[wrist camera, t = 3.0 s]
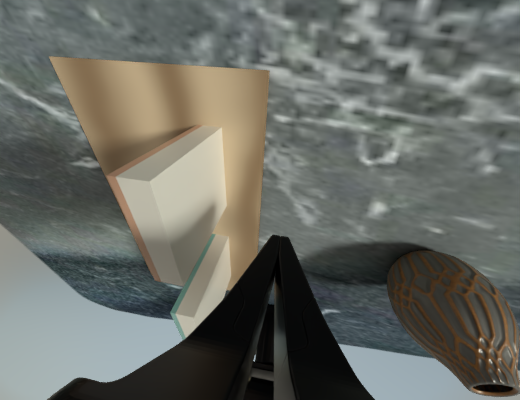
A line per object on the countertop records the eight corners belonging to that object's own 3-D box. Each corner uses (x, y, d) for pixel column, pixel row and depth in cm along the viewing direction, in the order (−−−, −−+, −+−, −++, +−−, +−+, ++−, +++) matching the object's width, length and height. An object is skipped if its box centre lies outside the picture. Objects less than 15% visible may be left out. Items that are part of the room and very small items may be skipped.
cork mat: (269, 70, 11) (268, 70, 11) (254, 292, 26) (254, 295, 26) (55, 56, 13) (48, 56, 13) (153, 272, 28) (151, 274, 27)
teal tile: (228, 236, 20) (193, 317, 13) (231, 275, 24) (205, 352, 17) (212, 233, 20) (170, 312, 14) (217, 273, 24) (186, 348, 18)
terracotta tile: (221, 127, 14) (149, 181, 7) (226, 205, 18) (183, 286, 11) (197, 124, 14) (106, 175, 7) (208, 203, 18) (155, 280, 11)
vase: (376, 243, 18) (427, 362, 10) (472, 233, 15) (620, 376, 8) (378, 286, 21) (418, 399, 14) (457, 284, 19) (554, 416, 12)
